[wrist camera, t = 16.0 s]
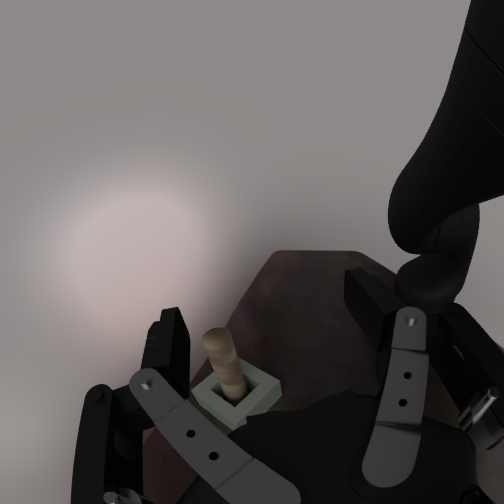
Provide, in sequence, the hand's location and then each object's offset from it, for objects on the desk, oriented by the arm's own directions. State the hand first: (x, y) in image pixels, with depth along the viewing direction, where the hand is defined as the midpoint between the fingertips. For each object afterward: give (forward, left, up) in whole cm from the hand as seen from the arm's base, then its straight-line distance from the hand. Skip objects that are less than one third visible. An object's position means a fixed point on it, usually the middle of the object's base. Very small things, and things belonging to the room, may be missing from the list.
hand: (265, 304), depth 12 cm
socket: (-6, -16, -32) cm, 36 cm away
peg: (-6, -15, -32) cm, 36 cm away
